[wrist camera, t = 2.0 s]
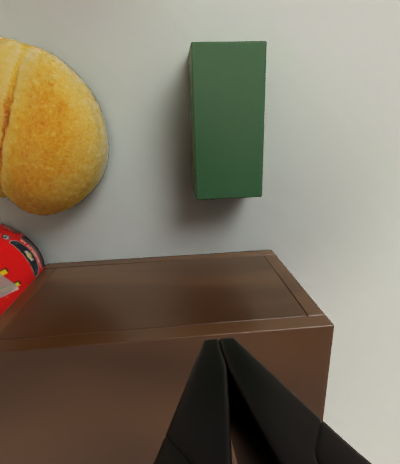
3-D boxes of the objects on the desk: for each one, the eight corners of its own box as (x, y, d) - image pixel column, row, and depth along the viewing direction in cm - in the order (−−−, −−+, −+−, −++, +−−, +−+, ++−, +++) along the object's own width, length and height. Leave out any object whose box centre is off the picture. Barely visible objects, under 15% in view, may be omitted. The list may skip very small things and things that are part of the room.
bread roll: (91, 224, 19) (71, 246, 16) (-66, 170, 18) (-131, 181, 14) (133, 90, 17) (122, 79, 13) (-41, 14, 16) (-109, -23, 12)
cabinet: (263, 438, 26) (304, 576, 18) (86, 457, 25) (46, 612, 17) (271, 249, 21) (334, 325, 13) (48, 263, 20) (-38, 355, 12)
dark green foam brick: (250, 188, 20) (262, 196, 17) (193, 191, 19) (196, 200, 17) (253, 53, 17) (266, 40, 15) (188, 54, 17) (190, 41, 15)
